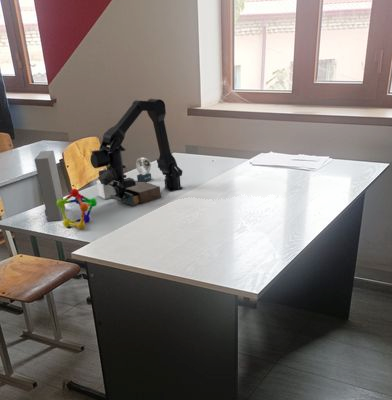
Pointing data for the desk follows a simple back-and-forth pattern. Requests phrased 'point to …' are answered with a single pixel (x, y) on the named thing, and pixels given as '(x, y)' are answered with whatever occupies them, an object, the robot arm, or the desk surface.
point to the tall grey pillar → (49, 184)
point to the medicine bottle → (104, 188)
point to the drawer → (127, 197)
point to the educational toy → (83, 207)
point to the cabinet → (146, 191)
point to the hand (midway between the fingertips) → (120, 199)
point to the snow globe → (142, 176)
